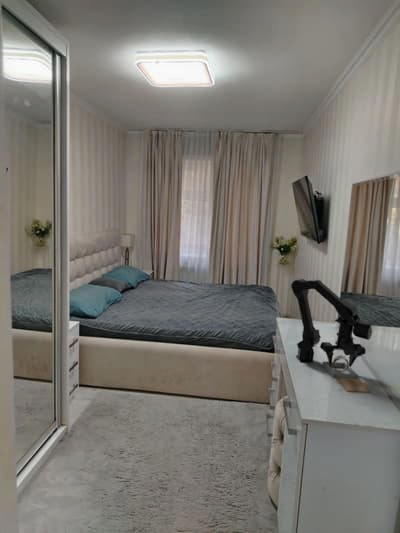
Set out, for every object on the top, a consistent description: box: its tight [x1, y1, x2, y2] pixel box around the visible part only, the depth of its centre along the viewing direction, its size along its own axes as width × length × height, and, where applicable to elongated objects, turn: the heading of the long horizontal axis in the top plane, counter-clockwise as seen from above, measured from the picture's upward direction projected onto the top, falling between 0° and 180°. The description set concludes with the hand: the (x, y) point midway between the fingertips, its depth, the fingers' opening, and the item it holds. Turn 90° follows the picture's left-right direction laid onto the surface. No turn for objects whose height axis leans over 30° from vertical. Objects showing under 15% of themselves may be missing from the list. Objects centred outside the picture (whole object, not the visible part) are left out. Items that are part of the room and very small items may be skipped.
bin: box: [322, 361, 359, 380], centre depth 166 cm, size 11×13×2 cm
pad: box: [335, 378, 372, 394], centre depth 153 cm, size 10×10×1 cm
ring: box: [332, 354, 350, 373], centre depth 166 cm, size 7×3×8 cm, turn 74°
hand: (340, 366), depth 166 cm, fingers open, 9 cm apart
